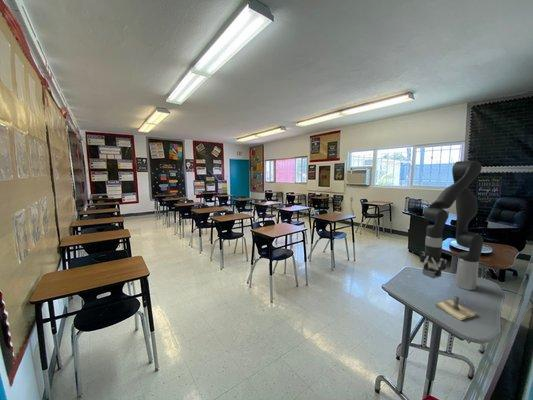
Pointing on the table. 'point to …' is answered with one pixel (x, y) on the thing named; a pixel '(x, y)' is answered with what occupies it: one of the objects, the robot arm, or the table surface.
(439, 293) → the table surface
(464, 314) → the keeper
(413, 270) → the table surface
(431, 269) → the link
